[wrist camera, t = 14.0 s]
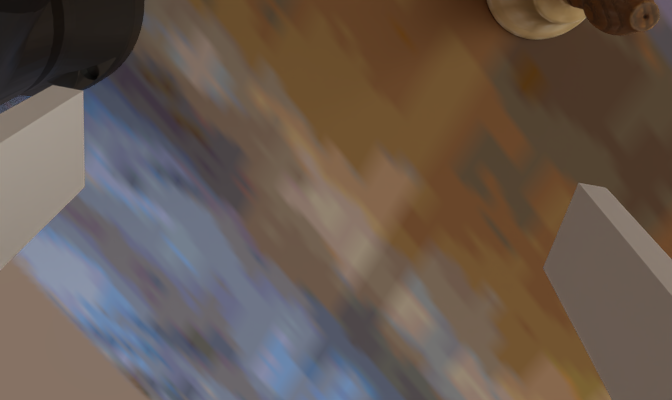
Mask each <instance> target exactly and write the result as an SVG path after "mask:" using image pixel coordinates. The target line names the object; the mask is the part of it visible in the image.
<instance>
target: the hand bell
mask: <svg viewBox="0 0 672 400" xmlns="http://www.w3.org/2000/svg"><path fill="white" fill-rule="evenodd" d="M487 4H488V7H489V9H490V11H491V13H492V15H493V17H494V18H495V20H496V21H497V22H498V23H499V24H500V25H501V26H502V27H503V28H504V29H505V30H507V31H508V32H510V33H512V34H514V35H516V36H519V37H522V38H526V39H532V40H541V39H548V38H552V37H556V36H559V35H561V34H564V33H566V32H568V31H570V30H571V29H573V28H574V27H576V26H577V25H578V24H580V23H581V22H582V21H583V20H584V19H585V18H587V19H588V20H589V21H590V23H591V24H592V25H594V26H595V27H596V28H598V29H599V30H601V31H603V32H605V33H608V34H612V35H620V36H621V35H630V34H633V33H636V32H644V31H647V30H649V29H651V28H653V27H654V26H655V24H656V23H657V22H658V20H659V18H660V17H659V9H658V6H657V5H656V4H655V3H654V0H487Z"/></svg>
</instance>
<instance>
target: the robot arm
mask: <svg viewBox="0 0 672 400" xmlns="http://www.w3.org/2000/svg"><path fill="white" fill-rule="evenodd" d="M143 14H144V0H0V105H2V104H4V103H5V102H7V101H9V100H11V99H13V98H15V97H17V96H18V95H22V96H32V97H30V98H28V99H27V100H25V101H23V102H21V103H19V104H18V105H16V106H14V107H12V108H10V109H8V110H7V111H5V112H3V113H1V114H0V270H1V269H2V268H3V267H4V266H5V265H6V264H7V263H8V262H9V261H10V260H11V259H12V258H13V257H14V256H15V255H16V254H17V253H18V252H19V251H20V250H21V249H22V248H23V247H24V246H25V245H26V244H27V243H28V242H29V241H30V240H31V239H32V238H33V237H34V236H35V235H36V234H37V233H38V232H39V231H41V230H42V229H43V228H44V227H45V226H46V225H47V224H48V223H49V222H50V221H51V220H52V219H53V218H54V217H55V216H56V215H57V214H58V213H59V212H60V211H61V210H62V209H63V208H64V207H65V206H66V205H67V204H68V203H69V202H70V201H71V200H72V199H73V198H74V197H75V196H76V195H77V194H78V193H79V192H80V191H81V190H82V189H83V188H84V187H85V169H84V115H83V91H82V90H84V89H87V88H89V87H91V86H93V85H95V84H96V83H98V82H99V81H101V80H103V79H104V78H106V77H107V76H109V75H110V74H112V73H113V72H114V71H115V70H117V69H118V68H119V67H120V66H121V65H122V63H123V62H124V61H125V60H126V59H127V57H128V56H129V54H130V53H131V51H132V50H133V48H134V46H135V44H136V41H137V39H138V36H139V33H140V30H141V26H142V21H143ZM543 269H544V271H545V273H546V275H547V277H548V278H549V280H550V282H551V284H552V286H553V288H554V290H555V292H556V294H557V296H558V297H559V299H560V301H561V303H562V305H563V307H564V309H565V311H566V313H567V315H568V317H569V318H570V320H571V322H572V324H573V326H574V328H575V330H576V332H577V334H578V336H579V337H580V339H581V341H582V343H583V345H584V347H585V349H586V351H587V353H588V355H589V357H590V358H591V360H592V362H593V364H594V366H595V368H596V370H597V372H598V374H599V376H600V378H601V379H602V381H603V383H604V385H605V387H606V389H607V391H608V393H609V395H610V397H611V398H612V400H672V259H671V258H670V257H669V256H668V255H667V254H666V253H665V252H664V251H663V250H662V249H661V247H660V246H659V245H658V244H657V243H656V242H655V241H654V240H653V239H652V238H651V236H650V235H649V234H648V233H647V232H646V231H645V230H644V229H643V228H642V227H641V226H640V224H639V223H638V222H637V221H636V220H635V219H634V218H633V217H632V216H631V215H630V213H629V212H628V211H627V210H626V209H625V208H624V207H623V206H622V205H621V204H620V202H619V201H618V200H617V199H616V198H615V197H614V196H613V195H612V194H611V193H610V192H609V190H608V189H607V188H604V187H598V186H593V185H588V184H582V183H578V185H577V188H576V190H575V193H574V195H573V197H572V200H571V202H570V205H569V207H568V209H567V212H566V214H565V217H564V219H563V221H562V224H561V226H560V229H559V231H558V234H557V236H556V238H555V241H554V243H553V246H552V248H551V250H550V253H549V255H548V258H547V260H546V262H545V265H544V267H543Z"/></svg>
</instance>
